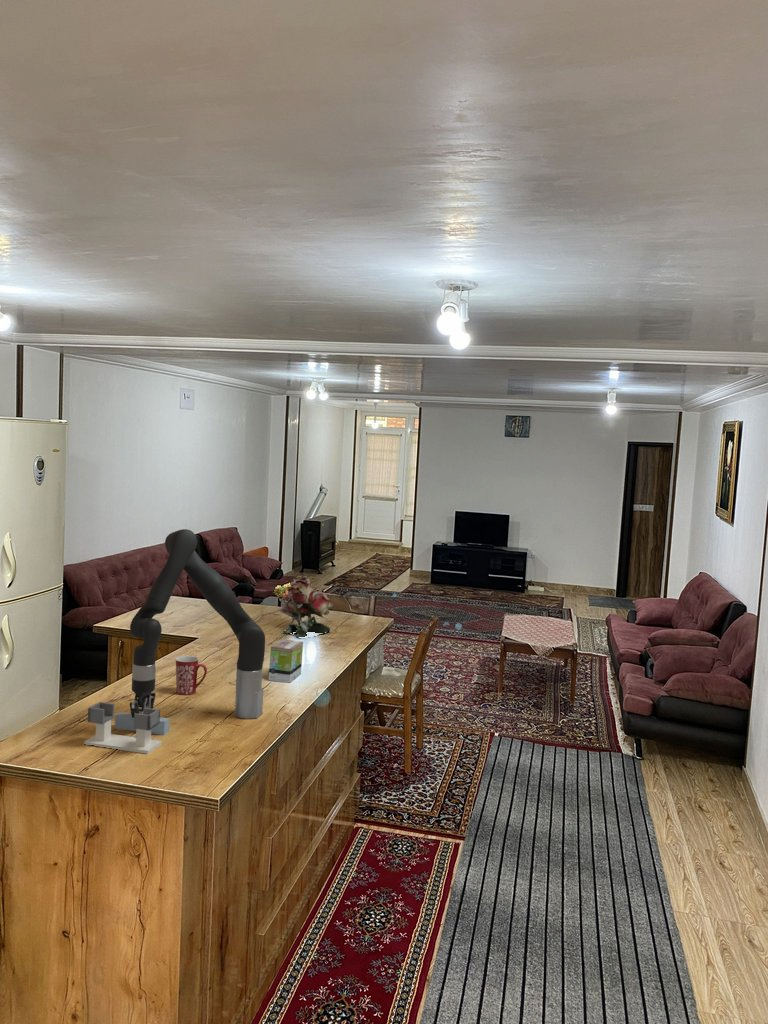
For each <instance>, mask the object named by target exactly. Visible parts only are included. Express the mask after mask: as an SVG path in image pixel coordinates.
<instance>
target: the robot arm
mask: <svg viewBox="0 0 768 1024" xmlns="http://www.w3.org/2000/svg"><path fill="white" fill-rule="evenodd" d="M197 546H198V538H197V535H196V534H195V533H194V532H193V531H192V530H190V529H187V528H183V529H179V530H176V531H173V532H170V533H169V534H168V535H167V536H166V537H165V541H164V547H165V549H166V551H167V553H168V558H167V560H166V562H165V564H164V567H163V568H162V569H161V571H160V572H159V574H158V576H157V577H156V579H155V581H154V582H153V583H152V586H151V588H150V590H149V592H148V594H147V598H146V599H145V602H144V603H143V604H142V606H141V607H140V609H138V611H137V612H136V613H135V615H134V616H133V618H132V620H131V621H130V624H129V625H130V626H129V631H130V632H129V633H130V634H131V635H132V636H133V637H135V638H139V639H142V640H143V642H142V644H139V645H136V646H135V648H134V650H133V663H132V664H133V665H132V670H131V671H132V672H131V673H132V674H131V691H132V692H133V693H134V701H133V702H132V701H131V702H129V709H130V714H131V715H132V718H134V714H135V713H137V714H144V708H151V709H154V705H155V699H156V696H157V695H156V692H154V691H155V689H156V677H157V676H156V673H157V672H156V671H157V670H156V652H157V649H158V645H159V642H160V639H161V636H162V631H163V628H162V624H161V622H160V621H159V620H157V619H155V618H154V616H157V615H159V614H160V615H161V614H163V613H164V612H165V610H166V609H167V606H168V604H169V601H170V598H171V597H172V594H173V593H174V592H173V591H174V590H175V587H176V585H177V583H178V580H179V579H180V576H181V575H182V572H183V570H184V572H185V573H186V575H188V577H189V579H190V580H191V581H192V582H193V584H194V586H195V587H196V588H197V589H198V591H199V592H200V593H201V595H202V596H203V597H204V599H205V600H206V601H207V602H208V604H209V605H210V607H212V609H214V610H215V612H216V613H218V614H219V615H220V616H221V617H222V618H223V619H224V620H225V621H226V623H227V624H228V626H229V627H230V628H231V630H232V631H233V634H234V635H235V637H236V639H237V641H238V655H237V656H238V657H237V661H236V676H235V679H236V680H235V697H234V701H235V702H234V716H235V717H237V718H240V719H247V720H248V719H258V718H259V717H260V716H261V715H262V714H263V709H264V708H263V705H264V688H263V687H262V685H263V684H262V683H263V668H264V661H265V653H266V635H265V632H264V631H263V629H262V628H261V627H260V625H258V623H257V622H255V621H254V620H253V619H252V617H250V615H249V614H248V613H247V612H246V611H245V609H244V608H243V606H242V605H241V603H240V602H239V600H238V598H237V596H236V594H235V593H234V591H233V589H232V588H231V587H230V585H229V584H228V582H227V581H226V580H225V579H224V577H223V576H222V575H221V574H220V573H219V572H218V571H216V570H215V569H214V568H213V567H211V566H210V565H209V564H207V563H206V562H205V561H204V560H203V559H202V558H201V557H200V555H199V554H198V553H197V551H196V548H197Z"/></svg>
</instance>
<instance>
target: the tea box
mask: <svg viewBox="0 0 768 1024" xmlns="http://www.w3.org/2000/svg"><path fill="white" fill-rule="evenodd" d="M303 649H304V641H300V640H299V641H298V640H292V639H290V640H289V639H280V640H279V641H277V642H275V643H274V644H272V645H271V646H270V655H269V667H268V681H272V682H279V683H286V682H287V683H292V681H293V680H296V678H298V677H299V676H301V675H302V666H303V663H302V662H303Z"/></svg>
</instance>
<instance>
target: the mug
mask: <svg viewBox="0 0 768 1024" xmlns="http://www.w3.org/2000/svg"><path fill="white" fill-rule="evenodd" d="M174 661H175V676H176V677H175V680H176V682H175V683H176V684H175V685H176V694H177V695H182V696H190V695H194V694H196V692H197V688H198V687H199V686H200V685H201V684H202V683H203V681H204V680H205V678H206V676H207V672H208V667H207V665H206V664H204V663H199V657H197V656H195V655H182V656H181V655H180V656H177V657H176V658H175V659H174ZM201 667H202V668H203V670H204V672H203V673H204V674H203V676H202V678H201V679H200V680H199V682H198V683H197V680H198V670H199V668H201Z"/></svg>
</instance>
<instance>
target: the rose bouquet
mask: <svg viewBox="0 0 768 1024" xmlns="http://www.w3.org/2000/svg"><path fill="white" fill-rule="evenodd" d="M315 590H316V587H314V586H313V584H312V582H311V580H310V579H309V578H308V576H301V575H300V576H299V575H298V576H297V577H294V578H293V581H291V582H290V586H287V587H286V592H287V595H286V596H284V597H283V600H281V609H280V610H279V612H280V613H282V614H285V615H287V616H288V617H290V618H291V619H292V620H291V622H290V624H288V625H287V628H288V629H287V628H286V629H287V630H286V629H285V630H286V631H282V632H286V633H285V634H288V633H292V634H293V632H297V633H296V634H295V635H292V637H293V636H294V637H295V638H298V637H305V636H307V634H306V633H307V632H315V633H325V632H328V631H330V632H331V628H330V627H329V626H327V624H323V623H322V622H321V623H320V622H317V620H316V616H317V617H320V618H322V619H326V620H327V619H328V617H325V616H328V615H329V614H330V609H331V608H333V607H334V604H333V602H331V601H330V598H329V597H328V594H327V593H325V592H322V591H320V590H317V591H315ZM312 615H314V616H312ZM323 615H324V616H323ZM305 617H307V619H306V620H305V621H303V620H302V619H304V618H305ZM294 621H296V622H297V624H294ZM328 633H329V632H328Z"/></svg>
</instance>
